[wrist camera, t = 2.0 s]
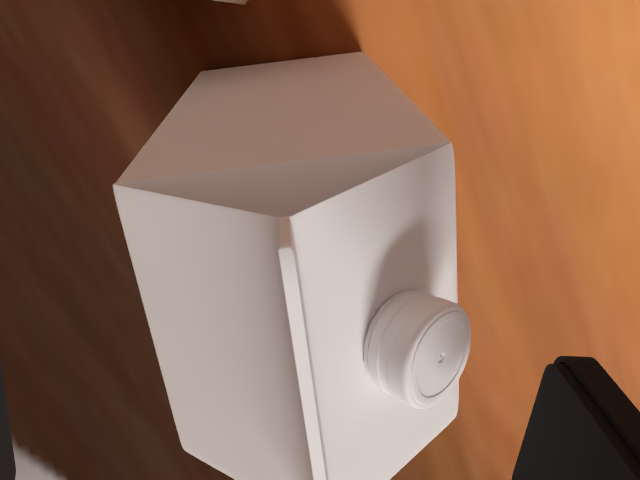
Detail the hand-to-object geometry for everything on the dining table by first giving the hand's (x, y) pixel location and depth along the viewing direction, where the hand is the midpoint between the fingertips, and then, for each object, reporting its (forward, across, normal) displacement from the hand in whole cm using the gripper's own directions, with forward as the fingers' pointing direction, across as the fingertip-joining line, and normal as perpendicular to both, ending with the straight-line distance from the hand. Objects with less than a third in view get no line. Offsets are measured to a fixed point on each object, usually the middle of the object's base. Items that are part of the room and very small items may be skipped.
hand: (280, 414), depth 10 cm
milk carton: (+19, -1, 0) cm, 19 cm away
